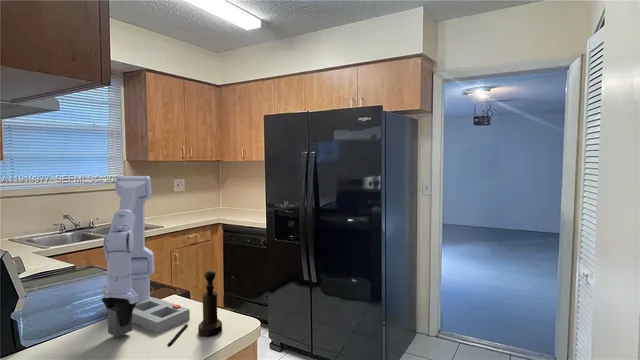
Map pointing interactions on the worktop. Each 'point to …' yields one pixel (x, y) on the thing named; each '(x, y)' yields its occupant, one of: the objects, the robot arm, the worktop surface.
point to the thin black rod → (177, 335)
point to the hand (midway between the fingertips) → (120, 323)
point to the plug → (116, 323)
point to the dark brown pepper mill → (210, 309)
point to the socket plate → (158, 314)
